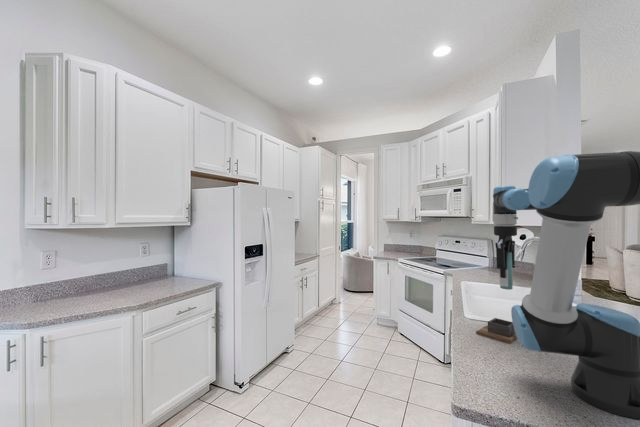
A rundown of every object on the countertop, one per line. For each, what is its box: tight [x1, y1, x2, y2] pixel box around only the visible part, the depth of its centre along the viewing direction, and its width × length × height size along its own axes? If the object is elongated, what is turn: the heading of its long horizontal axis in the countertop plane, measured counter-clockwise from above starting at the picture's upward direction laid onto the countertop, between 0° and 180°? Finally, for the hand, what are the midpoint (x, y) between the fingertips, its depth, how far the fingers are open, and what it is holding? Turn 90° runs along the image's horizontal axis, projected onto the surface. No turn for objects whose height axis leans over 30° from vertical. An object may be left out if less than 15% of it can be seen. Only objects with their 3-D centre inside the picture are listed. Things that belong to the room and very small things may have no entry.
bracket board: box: [475, 317, 518, 345], centre depth 113 cm, size 14×12×5 cm
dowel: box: [499, 252, 514, 291], centre depth 108 cm, size 4×4×14 cm
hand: (506, 284), depth 108 cm, fingers closed on dowel, 4 cm apart
